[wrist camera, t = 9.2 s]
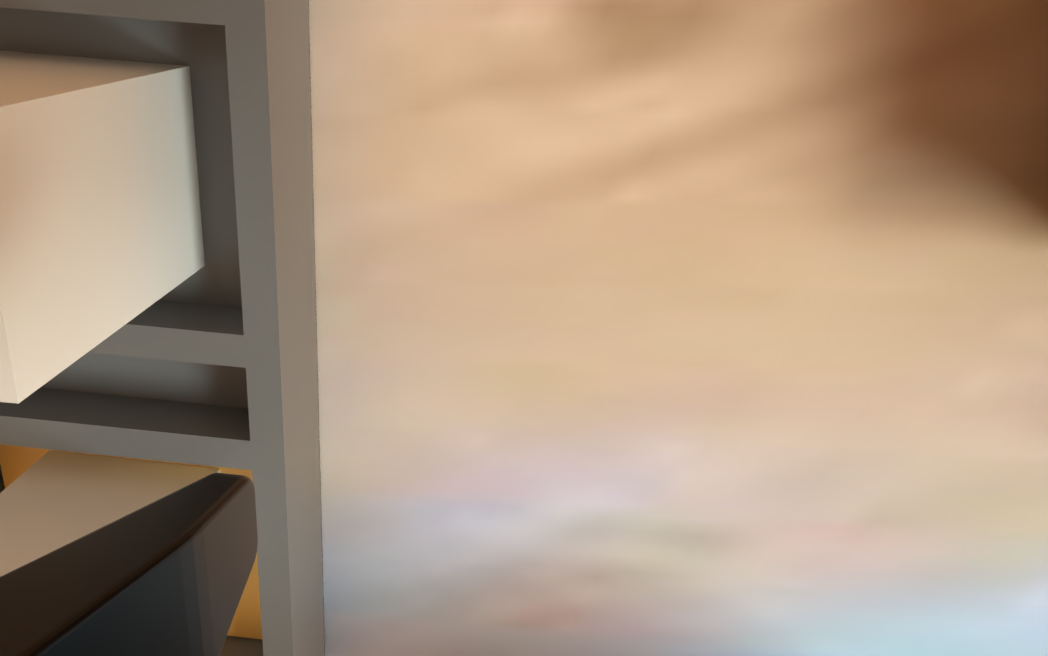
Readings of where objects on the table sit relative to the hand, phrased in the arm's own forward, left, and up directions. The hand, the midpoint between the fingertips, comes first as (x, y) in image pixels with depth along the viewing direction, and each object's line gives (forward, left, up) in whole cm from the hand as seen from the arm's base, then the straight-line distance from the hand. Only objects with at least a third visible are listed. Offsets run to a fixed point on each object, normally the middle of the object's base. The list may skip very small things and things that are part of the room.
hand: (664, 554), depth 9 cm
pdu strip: (-4, +12, -12) cm, 17 cm away
